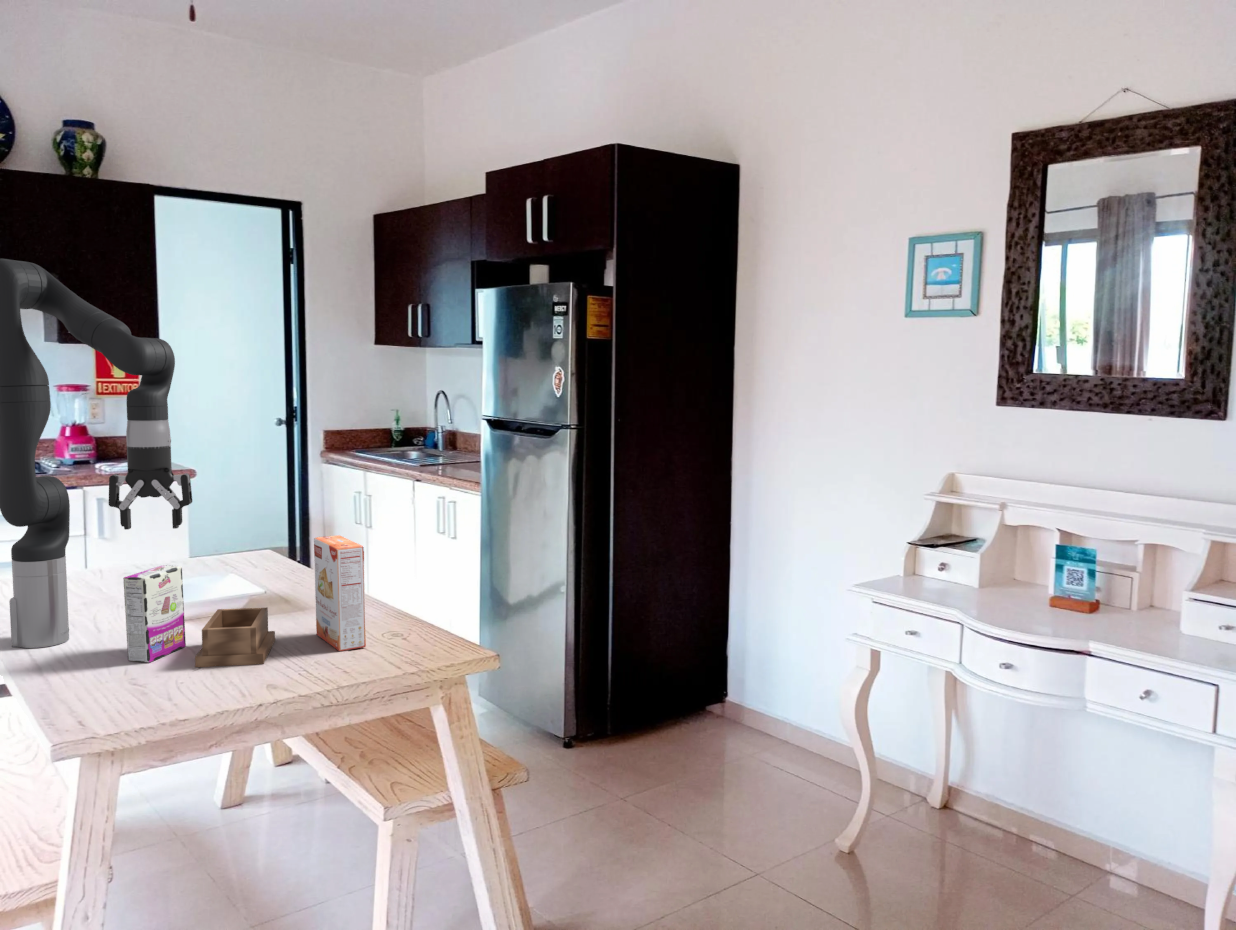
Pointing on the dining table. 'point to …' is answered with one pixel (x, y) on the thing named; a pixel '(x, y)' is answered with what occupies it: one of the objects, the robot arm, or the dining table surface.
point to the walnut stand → (236, 638)
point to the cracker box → (340, 592)
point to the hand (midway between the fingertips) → (152, 528)
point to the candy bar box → (154, 613)
